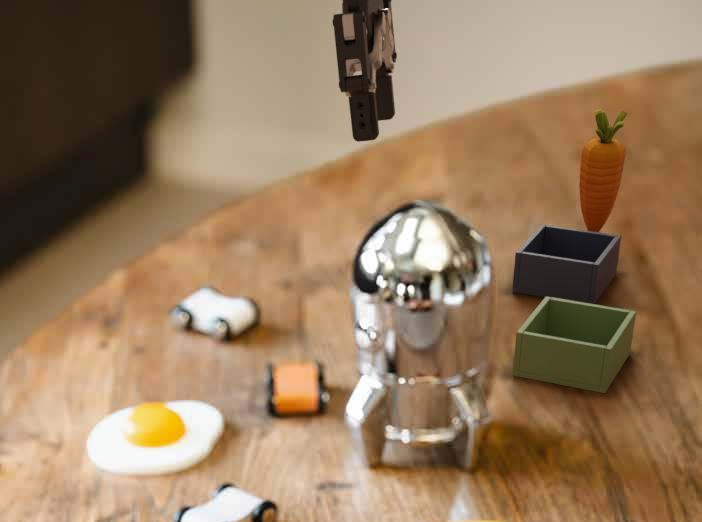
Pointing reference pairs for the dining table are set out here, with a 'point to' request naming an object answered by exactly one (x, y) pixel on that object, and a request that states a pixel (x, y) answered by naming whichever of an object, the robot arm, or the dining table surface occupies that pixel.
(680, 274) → the dining table surface
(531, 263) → the blue bin
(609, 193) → the carrot
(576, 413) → the dining table surface
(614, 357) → the green bin
